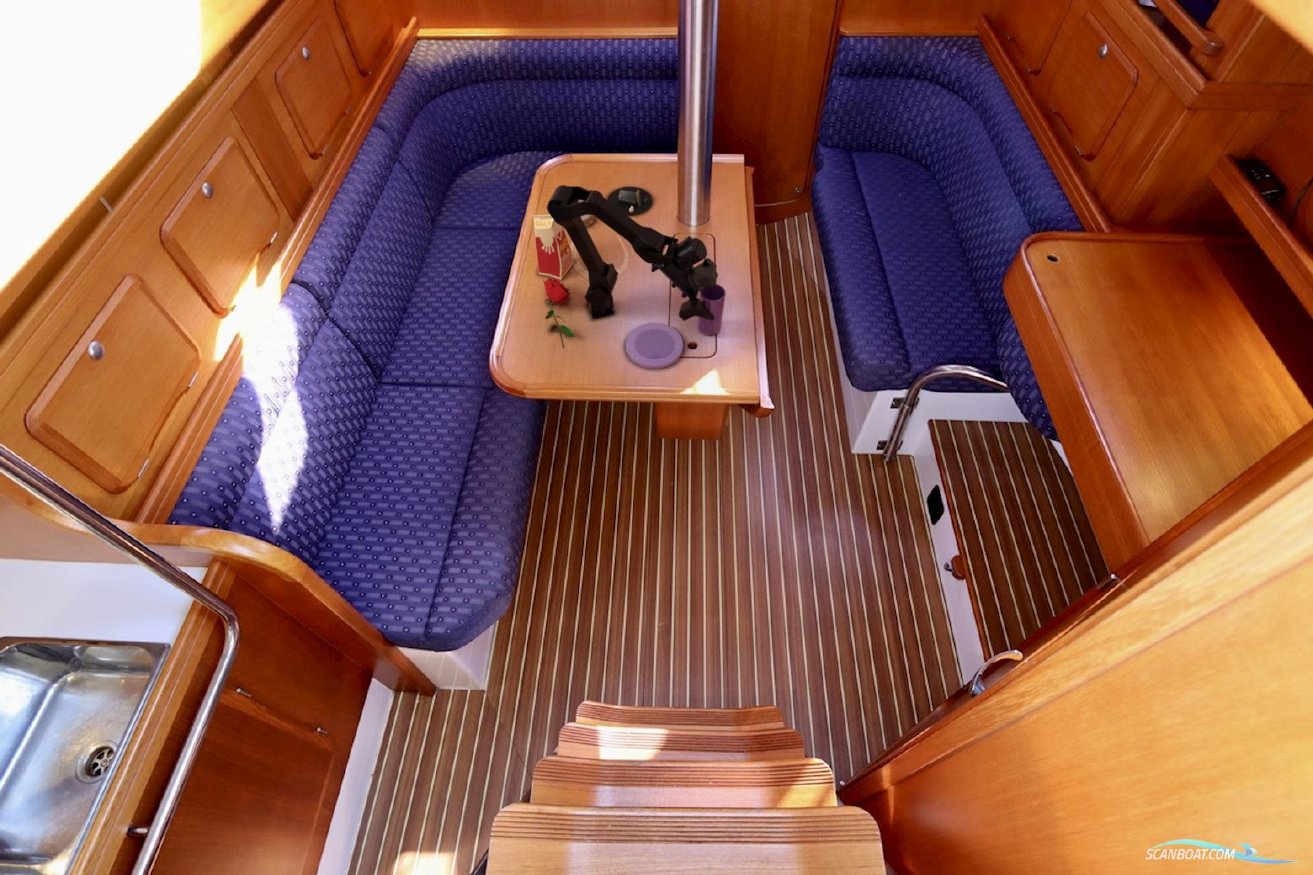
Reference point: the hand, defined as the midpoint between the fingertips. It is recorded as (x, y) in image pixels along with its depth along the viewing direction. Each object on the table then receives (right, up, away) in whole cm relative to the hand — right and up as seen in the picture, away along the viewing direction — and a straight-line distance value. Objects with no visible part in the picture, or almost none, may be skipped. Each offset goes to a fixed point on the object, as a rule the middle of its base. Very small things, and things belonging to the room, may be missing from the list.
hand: (715, 310), depth 178 cm
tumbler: (-1, -3, +6) cm, 7 cm away
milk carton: (-48, +17, +21) cm, 55 cm away
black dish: (-25, +44, +39) cm, 64 cm away
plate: (-17, -10, +3) cm, 20 cm away
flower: (-44, -2, +8) cm, 45 cm away
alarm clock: (-43, +38, +35) cm, 67 cm away
